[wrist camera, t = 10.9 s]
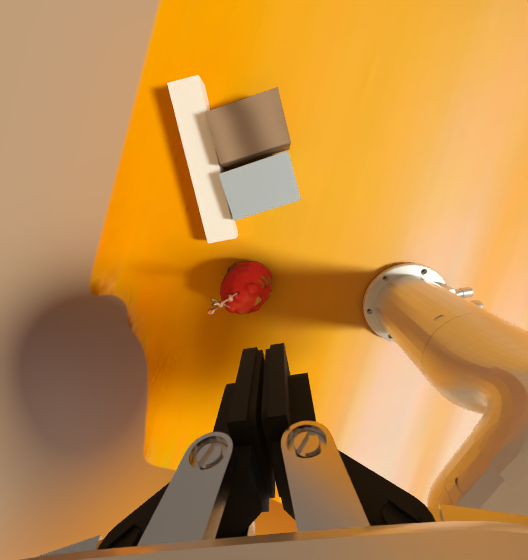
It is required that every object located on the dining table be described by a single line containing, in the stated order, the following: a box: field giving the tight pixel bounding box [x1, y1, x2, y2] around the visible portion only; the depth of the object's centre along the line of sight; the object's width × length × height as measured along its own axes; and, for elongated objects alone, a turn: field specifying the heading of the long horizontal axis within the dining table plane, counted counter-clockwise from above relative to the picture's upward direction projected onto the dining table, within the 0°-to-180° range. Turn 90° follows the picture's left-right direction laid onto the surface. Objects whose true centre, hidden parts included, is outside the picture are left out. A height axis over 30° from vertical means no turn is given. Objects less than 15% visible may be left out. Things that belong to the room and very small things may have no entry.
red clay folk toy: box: [208, 261, 272, 315], centre depth 37 cm, size 8×7×15 cm
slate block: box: [219, 151, 301, 221], centre depth 38 cm, size 9×6×5 cm, turn 107°
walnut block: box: [204, 87, 291, 168], centre depth 36 cm, size 9×6×5 cm, turn 106°
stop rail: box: [167, 75, 238, 244], centre depth 38 cm, size 4×20×3 cm, turn 12°
